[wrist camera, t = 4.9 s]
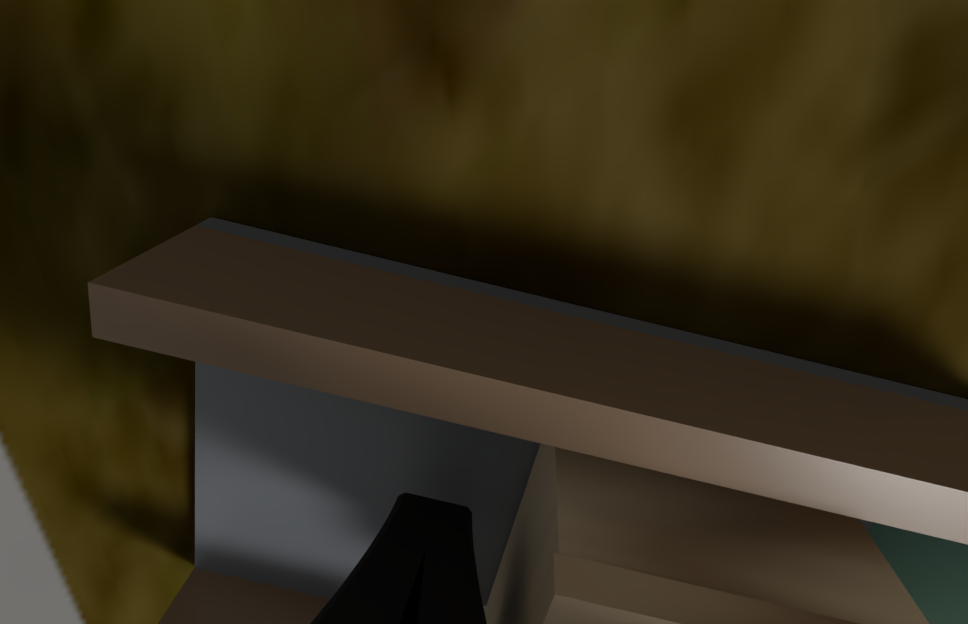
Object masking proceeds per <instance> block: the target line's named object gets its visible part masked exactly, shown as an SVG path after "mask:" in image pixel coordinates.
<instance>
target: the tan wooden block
mask: <svg viewBox="0 0 968 624" xmlns="http://www.w3.org/2000/svg"><path fill="white" fill-rule="evenodd" d="M484 612H485V617H486V622H487V624H929V622H928V621H927V619H926V618H925V616H924V615H923V613H922V612H921V610H920V609H919V607H918V606H917V604H916V603H915V601H914V600H913V598H912V597H911V595H910V594H909V593H908V591H907V590H906V588H905V587H904V585H903V584H902V582H901V581H900V579H899V578H898V576H897V575H896V573H895V572H894V570H893V569H892V567H891V566H890V564H889V563H888V561H887V560H886V558H885V557H884V555H883V554H882V552H881V551H880V549H879V548H878V546H877V545H876V543H875V542H874V540H873V539H872V538H871V536H870V535H869V533H868V532H867V530H866V529H865V527H864V526H863V524H862V523H861V521H860V520H859V519H858V518H853V517H849V516H845V515H841V514H837V513H832V512H828V511H824V510H820V509H815V508H811V507H807V506H803V505H799V504H794V503H790V502H786V501H782V500H777V499H773V498H769V497H765V496H761V495H756V494H752V493H748V492H744V491H739V490H735V489H731V488H727V487H723V486H718V485H714V484H710V483H706V482H701V481H697V480H693V479H689V478H685V477H680V476H676V475H672V474H668V473H663V472H659V471H655V470H651V469H647V468H642V467H638V466H634V465H630V464H625V463H621V462H617V461H613V460H609V459H604V458H600V457H596V456H592V455H587V454H583V453H579V452H575V451H571V450H566V449H562V448H558V447H554V446H549V445H545V444H541V443H540V446H539V449H538V452H537V455H536V458H535V461H534V464H533V467H532V470H531V473H530V476H529V479H528V482H527V485H526V488H525V491H524V494H523V497H522V500H521V503H520V506H519V509H518V512H517V515H516V518H515V521H514V524H513V527H512V530H511V533H510V536H509V539H508V542H507V545H506V548H505V551H504V554H503V557H502V560H501V563H500V566H499V569H498V572H497V575H496V578H495V581H494V584H493V587H492V590H491V593H490V596H489V599H488V602H487V605H486V608H485V611H484Z"/></svg>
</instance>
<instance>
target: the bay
mask: <svg viewBox="0 0 968 624" xmlns="http://www.w3.org/2000/svg"><path fill="white" fill-rule="evenodd" d="M88 294H89V305H90V316H91V328H92V337H94V338H98V339H102V340H106V341H110V342H115V343H119V344H123V345H127V346H132V347H136V348H140V349H144V350H148V351H153V352H157V353H161V354H165V355H170V356H174V357H178V358H182V359H186V360H191V361H195V568H194V570H193V571H192V573H191V574H190V576H189V577H188V579H187V580H186V582H185V583H184V585H183V586H182V588H181V590H180V591H179V593H178V594H177V596H176V597H175V599H174V600H173V602H172V603H171V605H170V606H169V608H168V609H167V611H166V612H165V614H164V615H163V617H162V618H161V620H160V621H159V623H158V624H310V623H311V622H312V621H313V620H314V618H315V617H316V616H317V615H318V614H319V612H320V611H321V610H322V609H323V608H324V606H325V605H326V604H327V603H328V601H329V600H330V599H331V598H332V597H333V595H334V594H335V593H336V592H337V590H338V589H339V588H340V587H341V585H342V584H343V583H344V581H345V580H346V578H347V577H348V576H349V574H350V573H351V572H352V570H353V569H354V567H355V566H356V565H357V563H358V562H359V561H360V559H361V558H362V556H363V555H364V554H365V552H366V551H367V549H368V548H369V546H370V545H371V543H372V542H373V540H374V539H375V537H376V536H377V534H378V533H379V531H380V529H381V528H382V526H383V524H384V523H385V521H386V519H387V518H388V516H389V514H390V512H391V510H392V508H393V506H394V504H395V502H396V500H397V497H398V496H399V495H401V494H403V493H405V492H406V493H411V494H415V495H419V496H423V497H428V498H432V499H436V500H441V501H445V502H449V503H454V504H458V505H462V506H466V507H468V508H469V509H470V511H471V512H472V531H473V545H474V554H475V561H476V569H477V576H478V582H479V587H480V593H481V598H482V603H483V608H484V611H485V608H486V605H487V602H488V599H489V596H490V593H491V590H492V587H493V584H494V581H495V578H496V575H497V572H498V569H499V566H500V563H501V560H502V557H503V554H504V551H505V548H506V545H507V542H508V539H509V536H510V533H511V530H512V527H513V524H514V521H515V518H516V515H517V512H518V509H519V506H520V503H521V500H522V497H523V494H524V491H525V488H526V485H527V482H528V479H529V476H530V473H531V470H532V467H533V464H534V461H535V458H536V455H537V452H538V449H539V446H540V443H541V444H545V445H549V446H554V447H558V448H562V449H566V450H571V451H575V452H579V453H583V454H587V455H592V456H596V457H600V458H604V459H609V460H613V461H617V462H621V463H625V464H630V465H634V466H638V467H642V468H647V469H651V470H655V471H659V472H663V473H668V474H672V475H676V476H680V477H685V478H689V479H693V480H697V481H701V482H706V483H710V484H714V485H718V486H723V487H727V488H731V489H735V490H739V491H744V492H748V493H752V494H756V495H761V496H765V497H769V498H773V499H777V500H782V501H786V502H790V503H794V504H799V505H803V506H807V507H811V508H815V509H820V510H824V511H828V512H832V513H837V514H841V515H845V516H849V517H853V518H858V519H859V520H860V521H861V523H862V524H863V526H864V527H865V529H866V530H867V532H868V533H869V535H870V536H871V538H872V539H873V540H874V542H875V543H876V545H877V546H878V548H879V549H880V551H881V552H882V554H883V555H884V557H885V558H886V560H887V561H888V563H889V564H890V566H891V567H892V569H893V570H894V572H895V573H896V575H897V576H898V578H899V579H900V581H901V582H902V584H903V585H904V587H905V588H906V590H907V591H908V593H909V594H910V595H911V597H912V598H913V600H914V601H915V603H916V604H917V606H918V607H919V609H920V610H921V612H922V613H923V615H924V616H925V618H926V619H927V621H928V622H929V624H968V399H965V398H960V397H956V396H952V395H948V394H944V393H940V392H935V391H931V390H927V389H923V388H919V387H915V386H911V385H906V384H902V383H898V382H894V381H890V380H886V379H881V378H877V377H873V376H869V375H865V374H861V373H857V372H852V371H848V370H844V369H840V368H836V367H832V366H828V365H823V364H819V363H815V362H811V361H807V360H803V359H798V358H794V357H790V356H786V355H782V354H778V353H774V352H769V351H765V350H761V349H757V348H753V347H749V346H744V345H740V344H736V343H732V342H728V341H724V340H720V339H715V338H711V337H707V336H703V335H699V334H695V333H691V332H686V331H682V330H678V329H674V328H670V327H666V326H661V325H657V324H653V323H649V322H645V321H641V320H637V319H632V318H628V317H624V316H620V315H616V314H612V313H607V312H603V311H599V310H595V309H591V308H587V307H583V306H578V305H574V304H570V303H566V302H562V301H558V300H554V299H549V298H545V297H541V296H537V295H533V294H529V293H524V292H520V291H516V290H512V289H508V288H504V287H500V286H495V285H491V284H487V283H483V282H479V281H475V280H470V279H466V278H462V277H458V276H454V275H450V274H446V273H441V272H437V271H433V270H429V269H425V268H421V267H417V266H412V265H408V264H404V263H400V262H396V261H392V260H387V259H383V258H379V257H375V256H371V255H367V254H363V253H358V252H354V251H350V250H346V249H342V248H338V247H333V246H329V245H325V244H321V243H317V242H313V241H309V240H304V239H300V238H296V237H292V236H288V235H284V234H280V233H275V232H271V231H267V230H263V229H259V228H255V227H250V226H246V225H242V224H238V223H234V222H230V221H226V220H221V219H217V218H213V217H210V218H208V219H207V220H205V221H203V222H201V223H199V224H197V225H195V226H193V227H191V228H189V229H188V230H186V231H184V232H182V233H180V234H178V235H176V236H174V237H172V238H170V239H169V240H167V241H165V242H163V243H161V244H159V245H157V246H155V247H153V248H152V249H150V250H148V251H146V252H144V253H142V254H140V255H138V256H136V257H134V258H133V259H131V260H129V261H127V262H125V263H123V264H121V265H119V266H117V267H116V268H114V269H112V270H110V271H108V272H106V273H104V274H102V275H100V276H98V277H97V278H95V279H93V280H91V281H89V282H88Z"/></svg>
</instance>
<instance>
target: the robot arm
mask: <svg viewBox="0 0 968 624" xmlns="http://www.w3.org/2000/svg"><path fill="white" fill-rule="evenodd" d="M310 624H487V622H486V617H485V612H484V608H483V603H482V598H481V593H480V587H479V582H478V576H477V569H476V561H475V554H474V545H473V531H472V512H471V511H470V509H469V508H468V507H466V506H462V505H458V504H454V503H449V502H445V501H441V500H436V499H432V498H428V497H423V496H419V495H415V494H411V493H406V492H405V493H403V494H401V495H399V496H398V497H397V500H396V502H395V504H394V506H393V508H392V510H391V512H390V514H389V516H388V518H387V519H386V521H385V523H384V524H383V526H382V528H381V529H380V531H379V533H378V534H377V536H376V537H375V539H374V540H373V542H372V543H371V545H370V546H369V548H368V549H367V551H366V552H365V554H364V555H363V556H362V558H361V559H360V561H359V562H358V563H357V565H356V566H355V567H354V569H353V570H352V572H351V573H350V574H349V576H348V577H347V578H346V580H345V581H344V583H343V584H342V585H341V587H340V588H339V589H338V590H337V592H336V593H335V594H334V595H333V597H332V598H331V599H330V600H329V601H328V603H327V604H326V605H325V606H324V608H323V609H322V610H321V611H320V612H319V614H318V615H317V616H316V617H315V618H314V620H313V621H312V622H311V623H310Z"/></svg>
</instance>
